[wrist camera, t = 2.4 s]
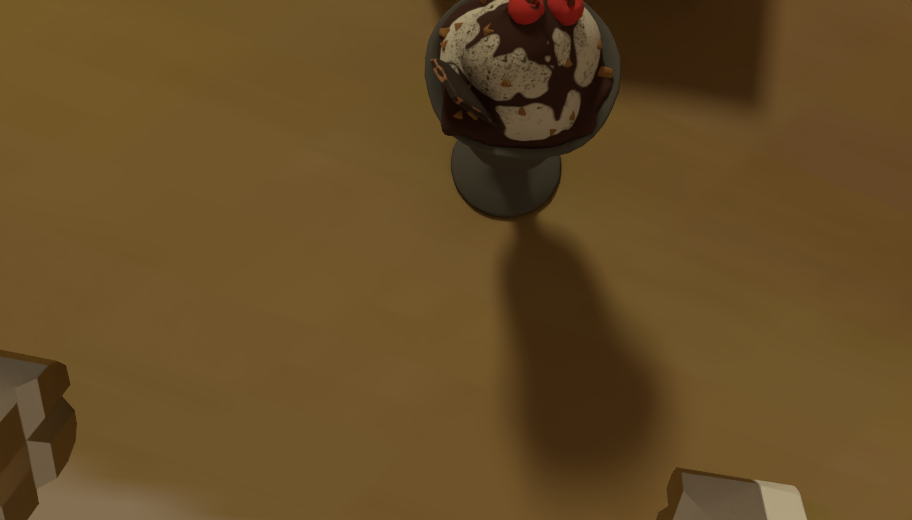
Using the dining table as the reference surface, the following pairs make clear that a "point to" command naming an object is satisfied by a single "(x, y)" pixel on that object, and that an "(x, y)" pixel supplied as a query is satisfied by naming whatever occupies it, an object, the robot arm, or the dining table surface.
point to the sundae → (519, 94)
